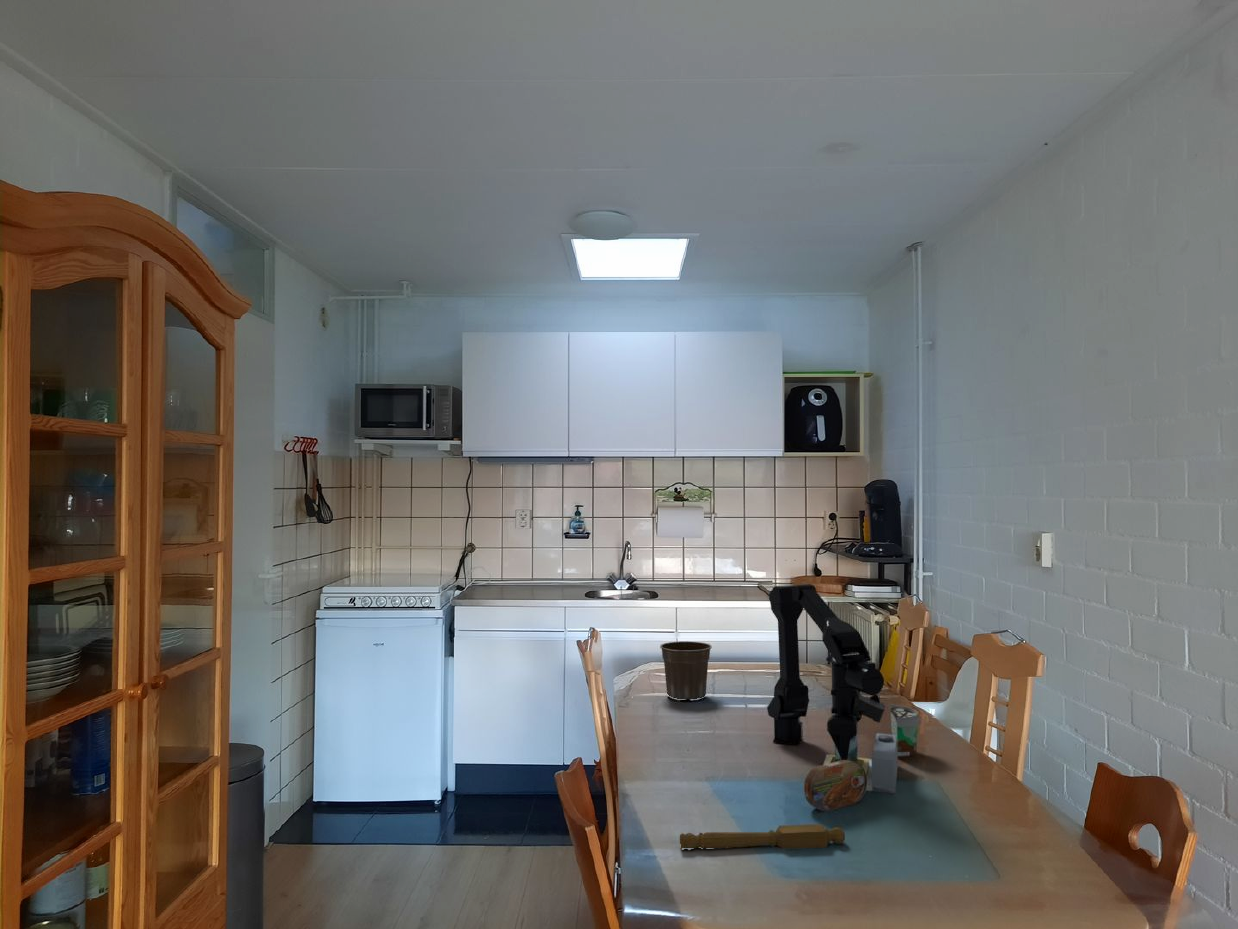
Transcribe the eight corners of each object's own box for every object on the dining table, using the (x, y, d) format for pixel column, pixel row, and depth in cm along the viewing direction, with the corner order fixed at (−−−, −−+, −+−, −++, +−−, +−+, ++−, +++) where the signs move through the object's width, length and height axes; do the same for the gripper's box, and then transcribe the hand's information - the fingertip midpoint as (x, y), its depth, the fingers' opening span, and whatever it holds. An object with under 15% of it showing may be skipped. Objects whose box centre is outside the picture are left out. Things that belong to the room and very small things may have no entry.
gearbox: (817, 784, 168) (816, 749, 168) (826, 758, 185) (826, 725, 185) (894, 794, 162) (893, 757, 162) (897, 765, 179) (896, 732, 179)
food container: (926, 762, 181) (924, 719, 181) (898, 761, 182) (897, 718, 182) (916, 745, 193) (915, 705, 193) (890, 744, 194) (889, 704, 194)
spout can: (833, 772, 173) (832, 726, 173) (836, 764, 178) (835, 720, 178) (857, 775, 171) (856, 728, 171) (859, 767, 176) (858, 722, 176)
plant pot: (678, 688, 254) (677, 638, 254) (721, 695, 244) (720, 643, 245) (651, 699, 240) (650, 647, 241) (695, 706, 231) (694, 652, 232)
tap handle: (679, 830, 140) (841, 823, 141) (679, 847, 140) (841, 840, 141) (681, 837, 137) (847, 830, 138) (681, 855, 137) (847, 848, 138)
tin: (812, 815, 152) (811, 772, 152) (801, 810, 155) (800, 767, 155) (868, 800, 159) (867, 759, 159) (857, 795, 162) (856, 755, 162)
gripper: (879, 698, 163) (881, 772, 163) (884, 678, 181) (886, 745, 180) (826, 693, 168) (827, 766, 167) (835, 674, 185) (836, 740, 184)
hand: (846, 754), depth 174 cm, fingers open, 9 cm apart
